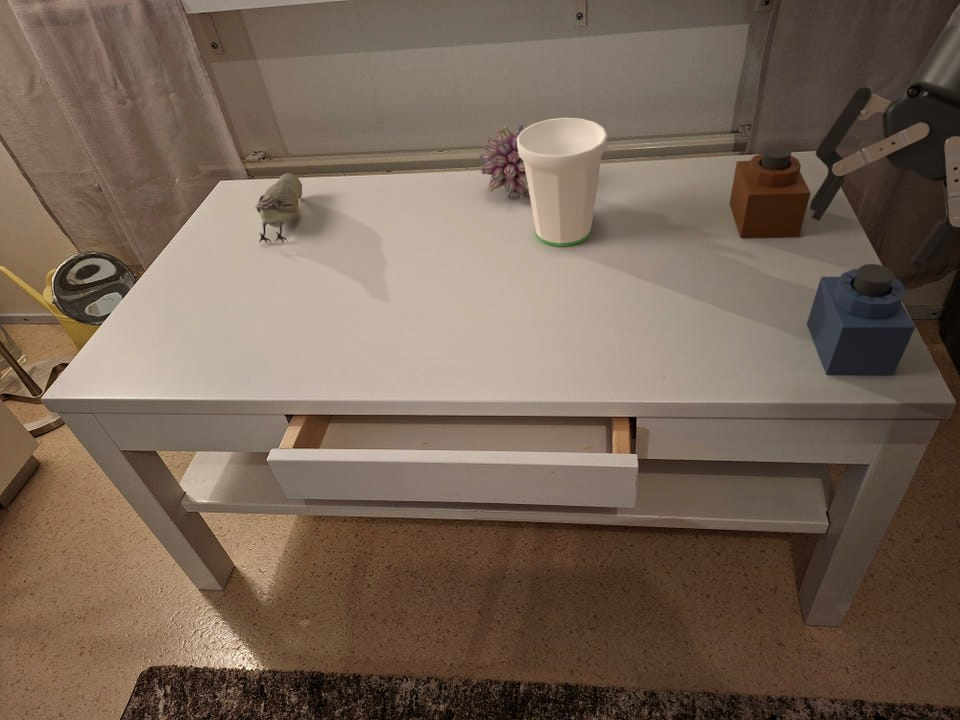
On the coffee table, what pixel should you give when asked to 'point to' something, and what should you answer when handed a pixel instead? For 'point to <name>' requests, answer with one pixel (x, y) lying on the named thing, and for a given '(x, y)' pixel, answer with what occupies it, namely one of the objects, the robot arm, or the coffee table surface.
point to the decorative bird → (280, 203)
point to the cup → (562, 176)
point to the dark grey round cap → (873, 280)
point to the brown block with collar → (768, 199)
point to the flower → (505, 162)
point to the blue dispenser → (859, 327)
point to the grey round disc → (776, 158)
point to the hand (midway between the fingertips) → (864, 241)
